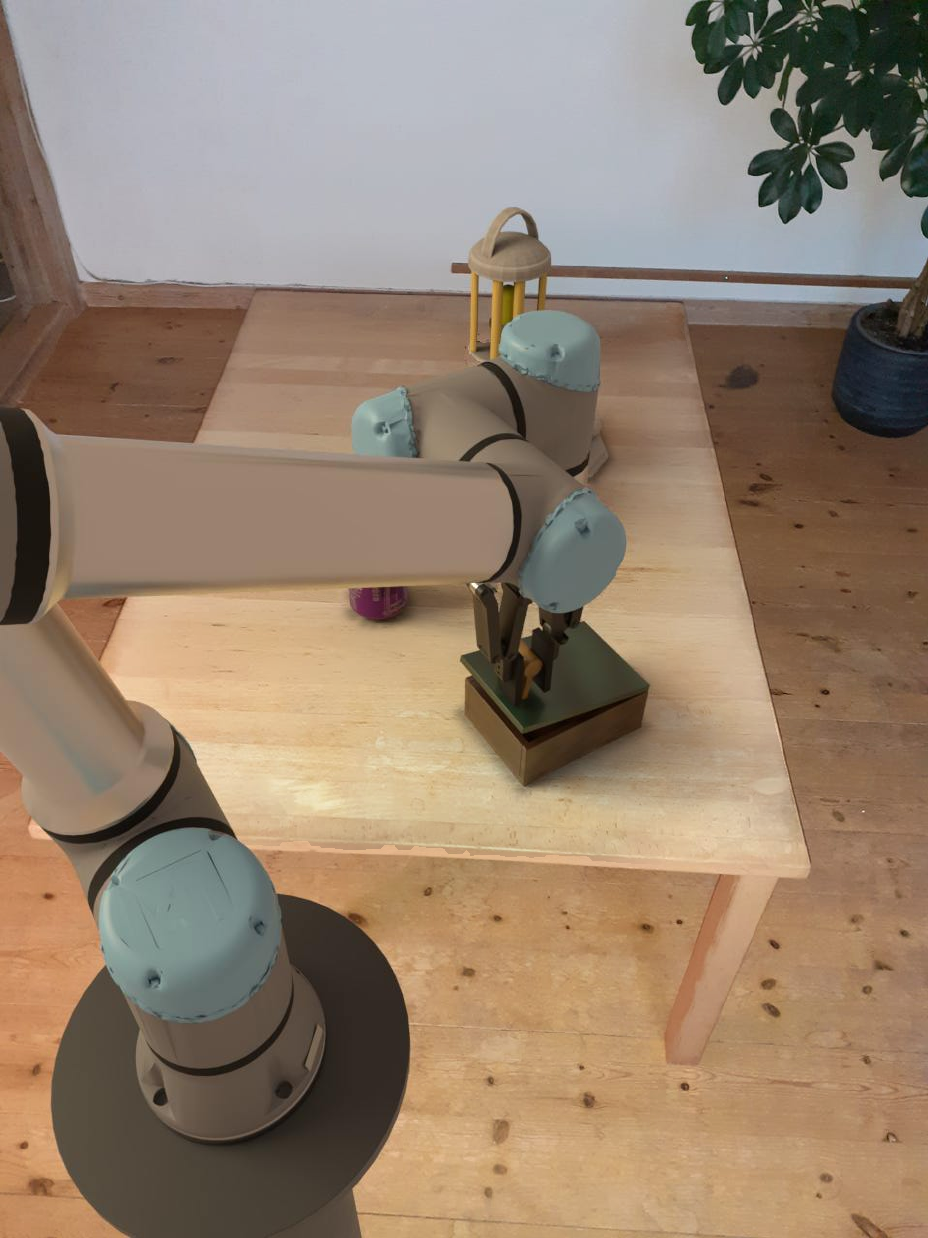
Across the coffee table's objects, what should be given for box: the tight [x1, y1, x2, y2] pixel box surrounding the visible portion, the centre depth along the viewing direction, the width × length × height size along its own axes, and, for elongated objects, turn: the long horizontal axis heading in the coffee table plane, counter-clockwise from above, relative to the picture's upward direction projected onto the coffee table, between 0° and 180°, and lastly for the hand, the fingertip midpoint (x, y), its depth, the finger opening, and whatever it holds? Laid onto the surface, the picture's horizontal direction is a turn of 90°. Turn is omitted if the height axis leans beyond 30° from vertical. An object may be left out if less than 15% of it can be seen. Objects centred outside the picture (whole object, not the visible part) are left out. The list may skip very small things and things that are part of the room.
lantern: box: [466, 206, 552, 368], centre depth 159 cm, size 14×14×25 cm
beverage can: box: [348, 586, 408, 620], centre depth 117 cm, size 7×7×12 cm
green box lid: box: [459, 620, 651, 734], centre depth 101 cm, size 16×12×6 cm
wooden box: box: [464, 674, 649, 787], centre depth 106 cm, size 16×12×6 cm
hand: (524, 689), depth 98 cm, fingers closed on green box lid, 3 cm apart
